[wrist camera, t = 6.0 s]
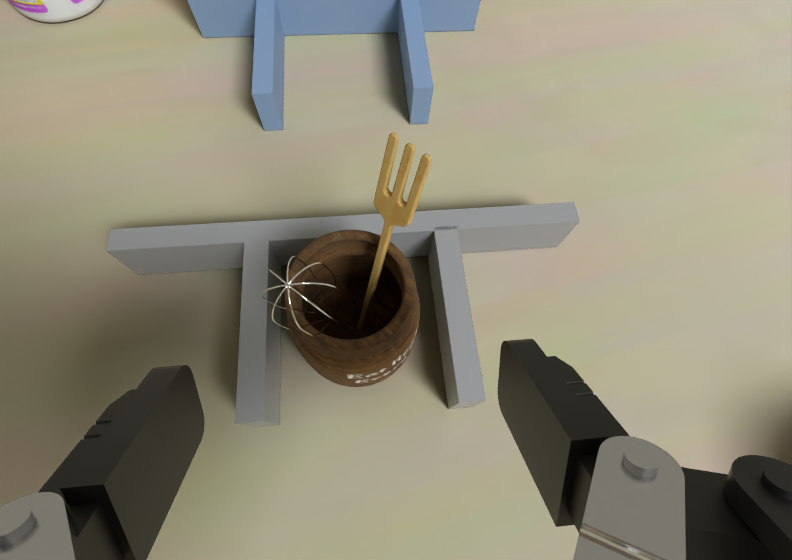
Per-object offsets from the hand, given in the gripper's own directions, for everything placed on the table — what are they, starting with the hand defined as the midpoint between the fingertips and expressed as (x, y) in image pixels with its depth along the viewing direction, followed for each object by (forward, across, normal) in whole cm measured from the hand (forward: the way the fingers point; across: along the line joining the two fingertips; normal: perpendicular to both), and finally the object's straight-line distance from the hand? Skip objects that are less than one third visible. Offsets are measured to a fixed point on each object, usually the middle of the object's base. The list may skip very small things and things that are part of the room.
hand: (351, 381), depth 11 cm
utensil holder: (+11, 0, +5) cm, 12 cm away
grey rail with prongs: (+10, 0, +4) cm, 11 cm away
